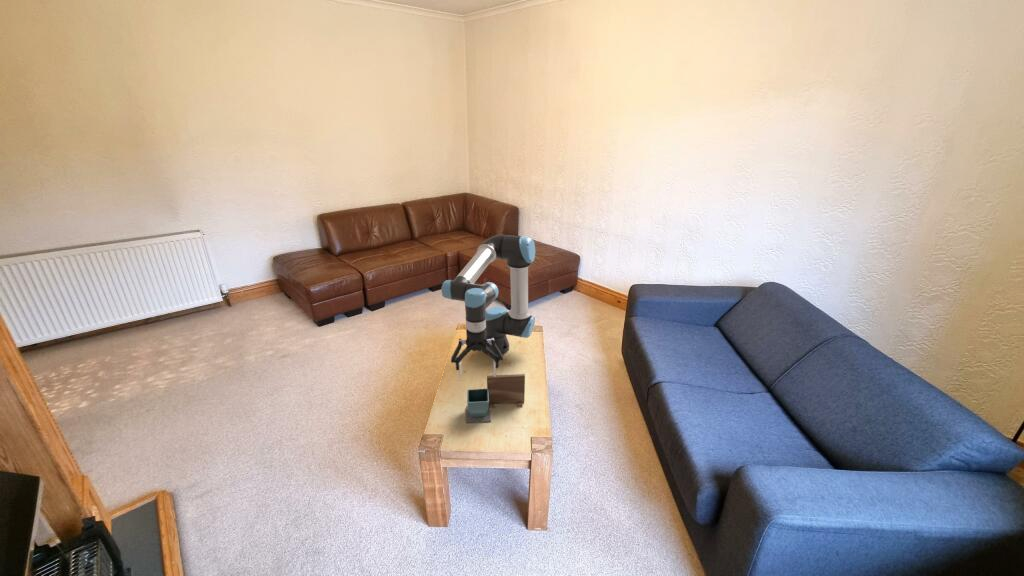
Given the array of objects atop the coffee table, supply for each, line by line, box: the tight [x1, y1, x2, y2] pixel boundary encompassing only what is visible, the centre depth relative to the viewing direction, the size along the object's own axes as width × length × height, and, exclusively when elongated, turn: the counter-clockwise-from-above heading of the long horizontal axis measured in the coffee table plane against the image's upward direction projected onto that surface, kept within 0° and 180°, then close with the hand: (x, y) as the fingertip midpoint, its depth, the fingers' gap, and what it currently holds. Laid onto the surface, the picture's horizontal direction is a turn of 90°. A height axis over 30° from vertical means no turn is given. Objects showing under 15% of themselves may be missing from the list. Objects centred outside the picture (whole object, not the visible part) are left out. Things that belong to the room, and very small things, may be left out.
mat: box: [465, 405, 492, 424], centre depth 165 cm, size 10×10×1 cm
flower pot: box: [466, 388, 489, 417], centre depth 164 cm, size 9×9×9 cm
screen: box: [486, 373, 526, 409], centre depth 170 cm, size 6×16×14 cm, turn 95°
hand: (477, 375), depth 158 cm, fingers open, 13 cm apart
